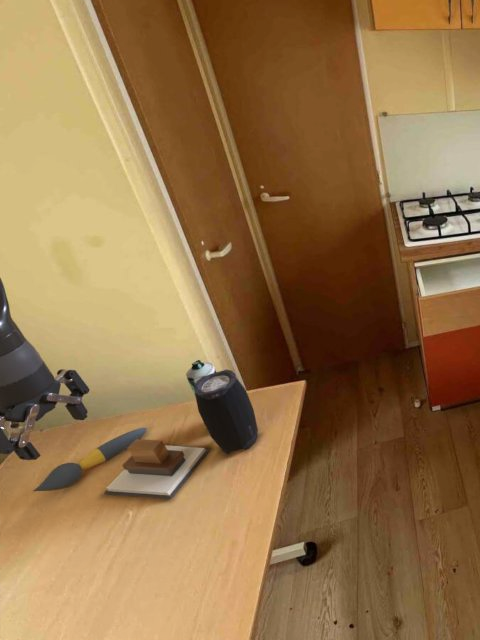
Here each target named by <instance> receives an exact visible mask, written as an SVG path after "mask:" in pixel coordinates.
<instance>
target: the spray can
mask: <svg viewBox="0 0 480 640" xmlns="http://www.w3.org/2000/svg"><path fill="white" fill-rule="evenodd" d="M216 372H217V371H216V368H215V366H214V365H213V364H212V362H204V361H203V362H202V361H201V360H200V359H197V360H196V361H194V362H192V363H191V367H190V368H189V369H188V370H187V371H186V373H185V376H186V380H187V382H188V384H189V386H190V388H191V390H192V392H193V394H194V395H195V390H194V386H195V384H196V382H197V381H198V380H199V379H200V378H202V377H203V376H206V375H210V374H213V373H216Z"/></svg>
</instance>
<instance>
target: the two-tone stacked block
mask: <svg viewBox="0 0 480 640" xmlns="http://www.w3.org/2000/svg"><path fill="white" fill-rule="evenodd" d="M126 450H127V451H128V452H129V454H130V457H129V458H128V459H127V460H126V461H125V462H124V463H123V464H122V465H121V466H122V468H123V470H124V469H125V470H128V472H129V473H131V474H145V475H160V476H173V475H174V473H175V472H176V471H177V470H178V469H179V468H180V466H181V465H182V464H183V463H184V462H185V458H184V456H185V455H184V453H183V451H175V450H167V449H166V447H165V443H164V442H163V440H159V439H144V438H139V439H136V440H135V441H134V442H133V443H132V444H131V445H130V446H129V447H127V448H126Z"/></svg>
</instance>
